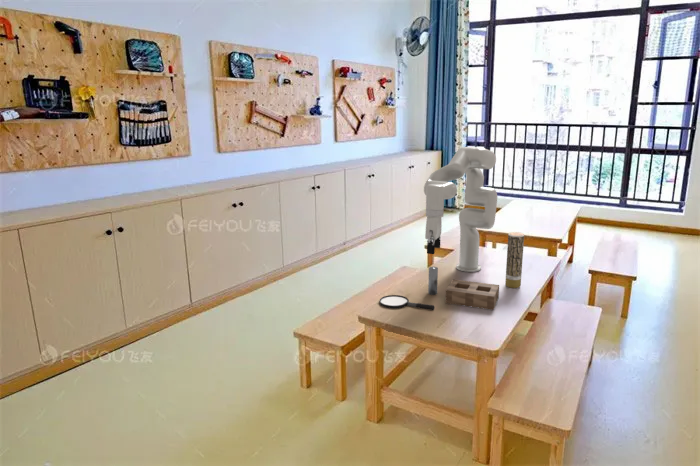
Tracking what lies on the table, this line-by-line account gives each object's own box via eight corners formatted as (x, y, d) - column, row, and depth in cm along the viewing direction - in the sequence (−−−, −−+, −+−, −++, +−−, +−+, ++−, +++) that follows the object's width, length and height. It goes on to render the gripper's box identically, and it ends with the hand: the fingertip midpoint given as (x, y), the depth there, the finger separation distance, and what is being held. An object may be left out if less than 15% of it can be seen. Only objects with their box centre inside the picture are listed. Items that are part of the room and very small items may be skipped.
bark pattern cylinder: (521, 289, 221) (525, 236, 215) (505, 288, 222) (509, 235, 216) (519, 283, 227) (523, 232, 221) (504, 283, 229) (507, 231, 222)
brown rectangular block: (452, 291, 220) (453, 279, 218) (498, 297, 211) (499, 285, 210) (445, 303, 207) (445, 289, 206) (493, 310, 199) (494, 296, 198)
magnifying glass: (429, 316, 196) (429, 311, 195) (374, 307, 207) (374, 302, 206) (438, 305, 206) (438, 300, 206) (386, 297, 217) (386, 292, 217)
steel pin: (429, 291, 221) (430, 266, 218) (438, 292, 219) (438, 267, 216) (427, 294, 218) (427, 268, 215) (435, 295, 216) (436, 269, 213)
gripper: (431, 208, 218) (430, 244, 222) (420, 216, 203) (419, 255, 207) (448, 209, 215) (446, 246, 219) (438, 217, 200) (437, 257, 204)
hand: (433, 250), depth 213 cm, fingers open, 9 cm apart
